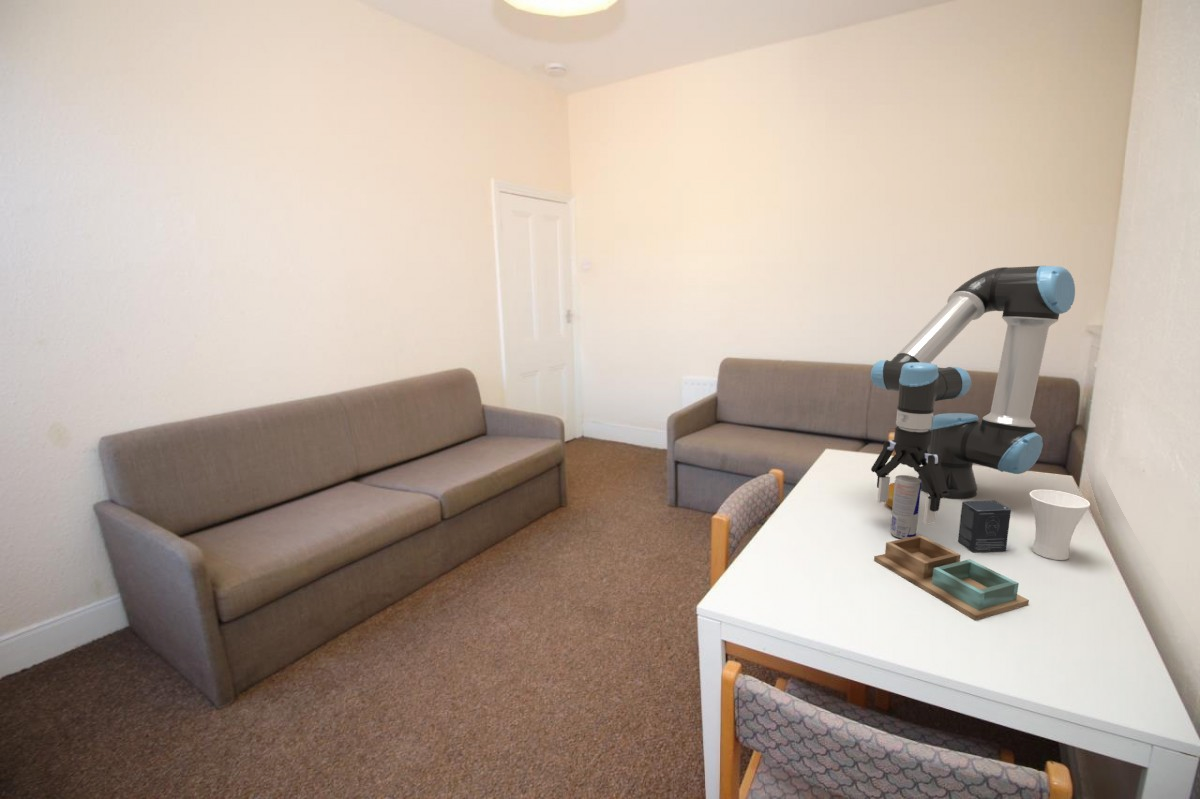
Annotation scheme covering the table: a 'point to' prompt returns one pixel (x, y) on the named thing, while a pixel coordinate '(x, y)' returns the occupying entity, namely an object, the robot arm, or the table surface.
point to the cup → (1055, 521)
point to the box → (984, 526)
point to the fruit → (890, 495)
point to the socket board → (951, 577)
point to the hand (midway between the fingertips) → (904, 511)
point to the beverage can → (905, 506)
